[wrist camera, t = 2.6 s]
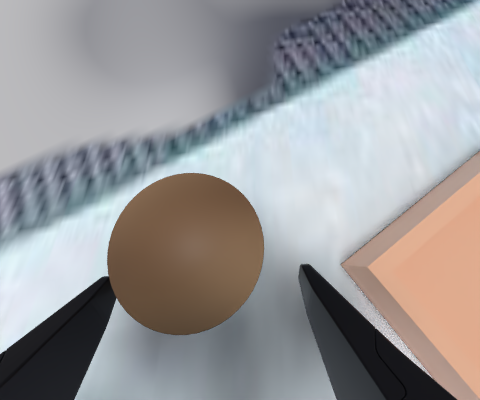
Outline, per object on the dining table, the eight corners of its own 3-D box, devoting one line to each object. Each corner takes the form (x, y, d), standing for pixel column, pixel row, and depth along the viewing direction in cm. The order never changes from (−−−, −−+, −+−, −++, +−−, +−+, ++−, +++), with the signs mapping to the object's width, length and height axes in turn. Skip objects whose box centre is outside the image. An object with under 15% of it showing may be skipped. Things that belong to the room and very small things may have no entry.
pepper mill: (263, 259, 18) (301, 265, 6) (216, 294, 17) (152, 383, 5) (231, 214, 19) (209, 144, 7) (186, 245, 19) (78, 226, 7)
